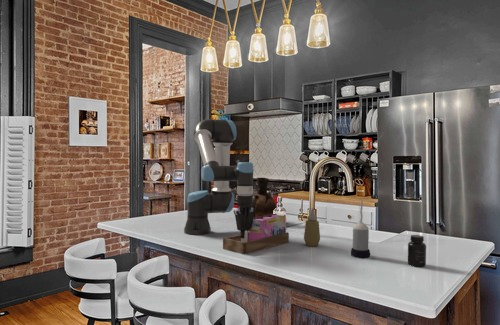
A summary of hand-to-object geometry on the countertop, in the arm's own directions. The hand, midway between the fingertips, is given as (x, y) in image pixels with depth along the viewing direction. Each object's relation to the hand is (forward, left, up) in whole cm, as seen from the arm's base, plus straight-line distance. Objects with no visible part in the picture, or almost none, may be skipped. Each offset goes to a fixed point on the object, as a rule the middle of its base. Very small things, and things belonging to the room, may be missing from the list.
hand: (244, 244), depth 173 cm
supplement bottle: (+68, +31, -2) cm, 75 cm away
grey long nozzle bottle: (+45, +28, -2) cm, 53 cm away
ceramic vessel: (-38, +58, -2) cm, 69 cm away
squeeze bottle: (+19, +29, -2) cm, 35 cm away
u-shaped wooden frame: (0, +9, -2) cm, 9 cm away
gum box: (+1, +16, -2) cm, 16 cm away
